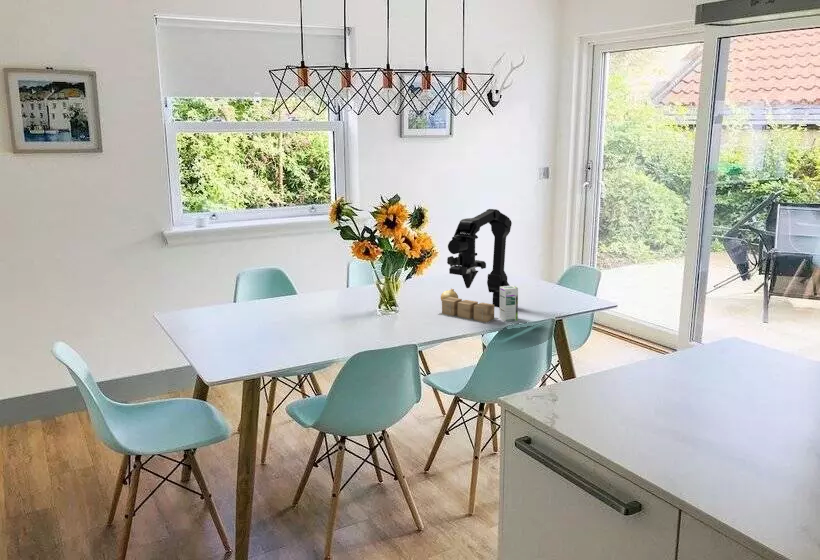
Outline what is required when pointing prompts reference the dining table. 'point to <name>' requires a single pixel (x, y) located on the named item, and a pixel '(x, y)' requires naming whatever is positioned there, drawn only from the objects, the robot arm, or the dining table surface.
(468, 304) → the block plain
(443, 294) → the onion
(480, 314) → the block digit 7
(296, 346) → the dining table surface
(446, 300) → the tan cube
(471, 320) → the mat
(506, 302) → the syrup box
